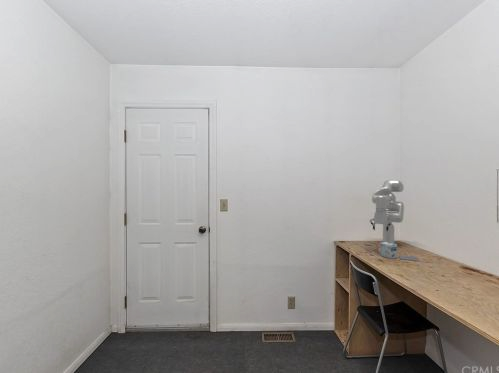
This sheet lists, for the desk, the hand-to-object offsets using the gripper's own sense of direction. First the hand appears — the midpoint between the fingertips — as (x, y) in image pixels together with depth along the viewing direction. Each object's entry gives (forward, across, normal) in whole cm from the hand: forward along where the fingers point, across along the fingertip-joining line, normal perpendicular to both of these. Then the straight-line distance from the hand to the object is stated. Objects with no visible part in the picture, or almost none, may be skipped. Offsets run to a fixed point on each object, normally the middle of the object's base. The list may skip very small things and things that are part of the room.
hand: (380, 230), depth 231 cm
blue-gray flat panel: (+18, -20, +10) cm, 29 cm away
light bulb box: (+19, -6, +12) cm, 23 cm away
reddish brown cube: (+18, 0, 0) cm, 19 cm away
